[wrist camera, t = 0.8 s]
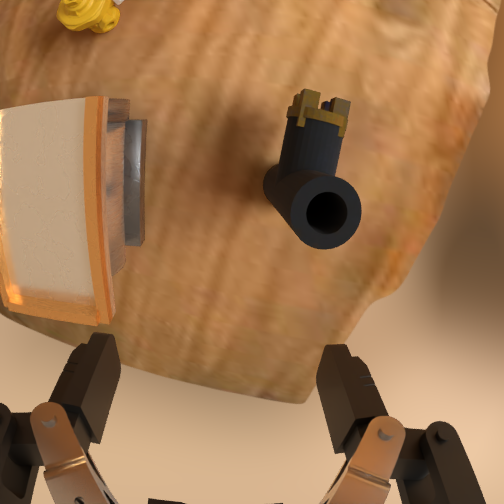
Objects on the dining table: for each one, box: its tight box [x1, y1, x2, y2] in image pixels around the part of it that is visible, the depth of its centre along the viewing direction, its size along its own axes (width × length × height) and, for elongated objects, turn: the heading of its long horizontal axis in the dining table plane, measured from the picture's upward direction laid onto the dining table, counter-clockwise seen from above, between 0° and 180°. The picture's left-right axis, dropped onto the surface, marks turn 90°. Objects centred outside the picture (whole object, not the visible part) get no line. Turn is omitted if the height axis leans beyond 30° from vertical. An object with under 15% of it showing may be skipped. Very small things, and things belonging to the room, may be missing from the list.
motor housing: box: [0, 96, 147, 326], centre depth 27 cm, size 18×12×14 cm, turn 174°
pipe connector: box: [263, 89, 361, 249], centre depth 27 cm, size 12×5×15 cm, turn 169°
